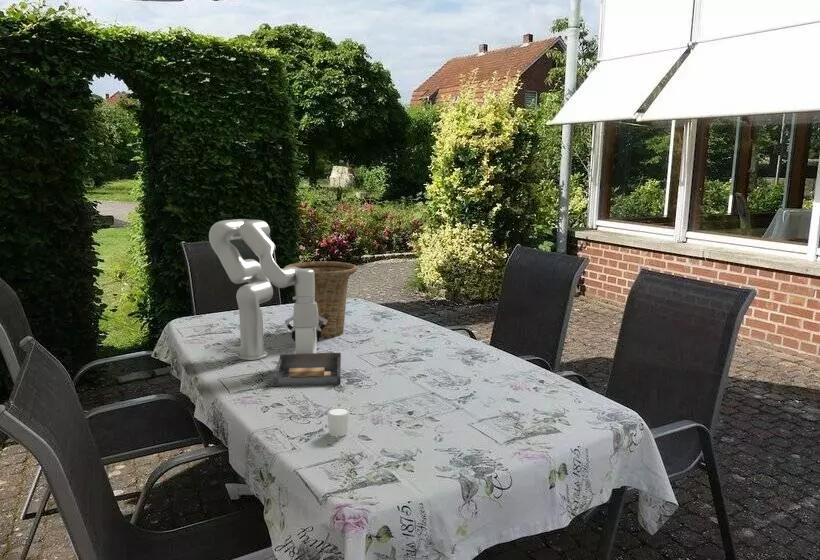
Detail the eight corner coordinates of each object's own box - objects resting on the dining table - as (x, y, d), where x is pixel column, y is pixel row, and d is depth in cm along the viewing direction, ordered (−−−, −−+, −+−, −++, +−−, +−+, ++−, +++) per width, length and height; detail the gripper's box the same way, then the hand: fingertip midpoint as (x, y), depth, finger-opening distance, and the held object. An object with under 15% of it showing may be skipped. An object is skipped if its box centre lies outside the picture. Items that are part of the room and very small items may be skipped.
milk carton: (313, 367, 254) (312, 321, 251) (296, 366, 254) (294, 321, 251) (316, 361, 261) (316, 317, 258) (300, 361, 261) (299, 317, 258)
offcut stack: (287, 385, 233) (286, 371, 232) (288, 381, 237) (288, 367, 237) (330, 384, 234) (330, 370, 233) (330, 380, 239) (330, 367, 238)
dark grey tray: (275, 386, 231) (274, 368, 230) (280, 370, 249) (280, 353, 248) (340, 384, 234) (340, 366, 232) (340, 369, 251) (340, 352, 250)
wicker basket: (371, 330, 312) (371, 265, 307) (326, 346, 283) (325, 274, 278) (318, 321, 331) (316, 259, 325) (270, 335, 302) (268, 267, 296)
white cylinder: (328, 428, 194) (327, 407, 192) (350, 428, 194) (350, 407, 193) (326, 438, 187) (326, 416, 186) (349, 437, 187) (349, 415, 186)
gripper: (283, 301, 248) (284, 343, 251) (326, 300, 250) (327, 342, 253) (285, 297, 256) (286, 338, 259) (327, 297, 258) (328, 337, 260)
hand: (306, 340), depth 256 cm, fingers open, 9 cm apart
